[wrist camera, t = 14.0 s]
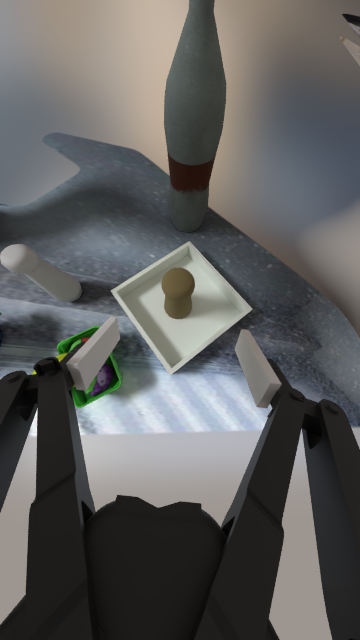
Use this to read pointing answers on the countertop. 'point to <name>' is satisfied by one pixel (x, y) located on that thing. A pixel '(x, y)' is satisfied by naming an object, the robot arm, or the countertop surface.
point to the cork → (178, 292)
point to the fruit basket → (104, 379)
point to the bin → (204, 319)
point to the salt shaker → (41, 272)
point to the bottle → (194, 115)
